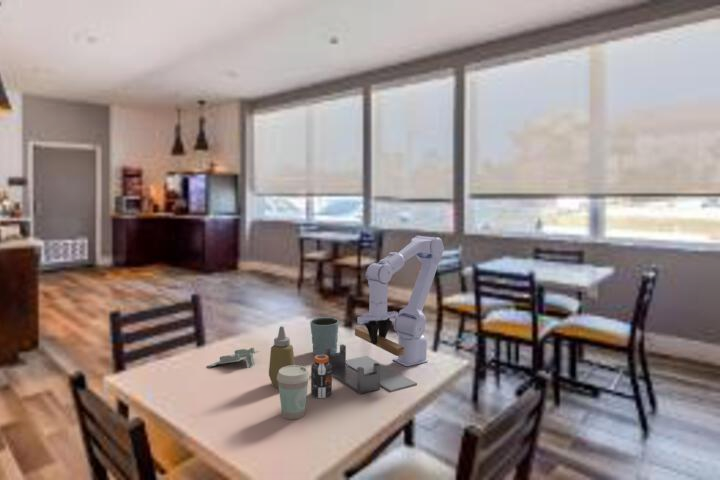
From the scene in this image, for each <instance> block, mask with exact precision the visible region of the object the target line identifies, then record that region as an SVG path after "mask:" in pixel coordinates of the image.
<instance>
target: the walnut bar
mask: <svg viewBox="0 0 720 480" xmlns="http://www.w3.org/2000/svg"><path fill="white" fill-rule="evenodd" d="M354 336H356V337H358V338H359V339H361V340H364V341H366V342H368V343H370V344H372V343H371V339H370V335H369V332H368V330H367V328H364V327H362V326H359V327H358V326H357V327H355V328H354ZM374 346H376V347H377V348H380V349H382V350H383V351H386V352H387V353H390V354H392V355H393V356H396V357H398V356H401V355H404V347H403V346H401V345H399V344H398V342H395V341H393V340H390V339H388V338H387V337H386V338H384V337H382V336H380V335H379V334H377V344H375V345H374Z"/></svg>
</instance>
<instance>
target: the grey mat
mask: <svg viewBox="0 0 720 480" xmlns="http://www.w3.org/2000/svg"><path fill="white" fill-rule="evenodd" d="M375 363H378V364H380V387H382V388H383V389H385V390H387V392H390V393H392V392H396V391H398V390H404V389H407V388H410V387H414V386H417V385H418V382H416V381H414V380H412V379H410V378H409V377H407V376H405V375H403V374H402V373H400V372H398V371H396V370H394V369H392V368H391V367H389V366H386V365H385V364H383V363H381V362H379V361H377V360H376V359H374V358H372V357H370V356H368V355H363V356H359V357H358V356H357V357H354V358H350V359H346V366H347V367H349V368H351V369H352V370H354V371H355V372H357V367H362V368H364V374H367V373H371V372H373V371H374V364H375Z"/></svg>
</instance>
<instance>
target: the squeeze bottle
mask: <svg viewBox="0 0 720 480" xmlns="http://www.w3.org/2000/svg"><path fill="white" fill-rule="evenodd" d="M295 362H296V361H295V354H294V347H293V345H292V344H291V340H290V337H288V336H286V331H285V327H284V326H283V325H282V326H279V329H278V334H277V336H276V337H274V338H273V345H271V347H270V355H269V366H268V376H269V379H270V383H271V385H272V387H273V388H275V389H279V386H278V380H277V374H278V372H279V370H280V369H281V368H283V367H285V366H290V365H296V364H295Z"/></svg>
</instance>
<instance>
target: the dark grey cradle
mask: <svg viewBox="0 0 720 480" xmlns="http://www.w3.org/2000/svg"><path fill="white" fill-rule="evenodd" d="M346 353H347V347H346V345H345V344H344V343H342V344H339V352H337V353H334V354H331V349H330V348H328V347H327V348H325V355H327V356H328V357H329V363H330V364H331V365H332V377H334V378H335V379H337V380H339V381H340V382H341V383H343V384H345V385H346V386H347V387H348V388H350V389H351V390H353V391H355V392H356V393H357V394H359V395H363V394H366V393H371V392H375V391H376V392H377V391H379V390H381V386H380V364H378V363H375V364H374V371H373V372H371V373H367V374H364V368H362V367H357V371H356V370H354V369H352V368H351V367H349V366H347V365H346V360H347V359H346V357H347V356H346V355H347V354H346Z"/></svg>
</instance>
